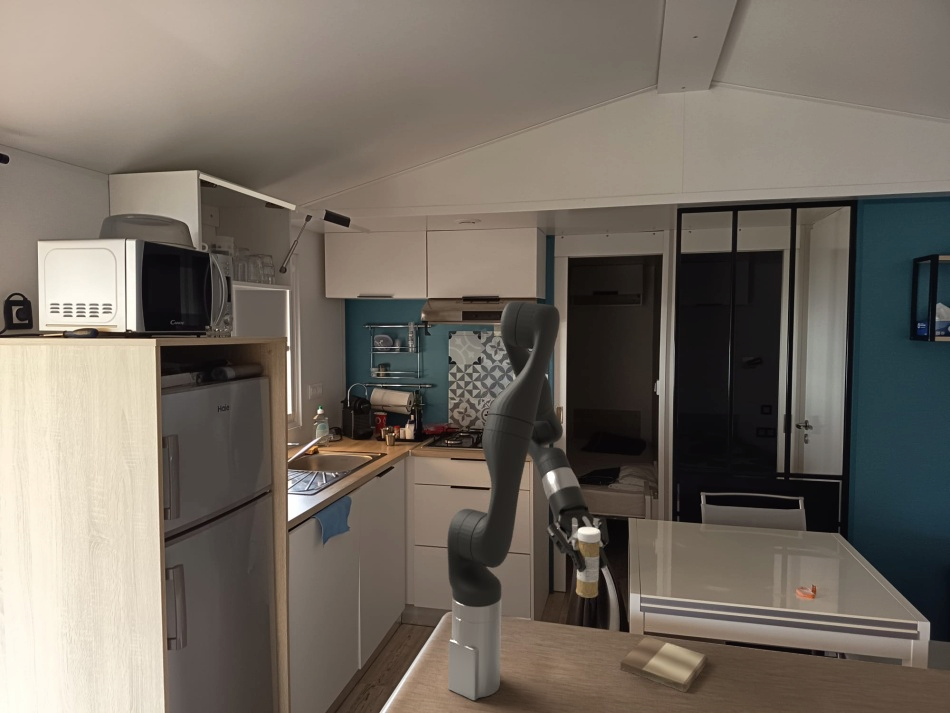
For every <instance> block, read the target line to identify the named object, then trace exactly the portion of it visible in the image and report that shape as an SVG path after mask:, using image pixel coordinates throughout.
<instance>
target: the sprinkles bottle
mask: <svg viewBox="0 0 950 713" xmlns="http://www.w3.org/2000/svg"><path fill="white" fill-rule="evenodd" d="M599 542H600V530H598V529H596V528H595V527H594V526H592V527H582V528H579V529H578V551H580V552H581V554H582V557H583V559H584V562H585V565H586V569H585V570H584V571H583V572H579V571H578V570H577V569H576V589H575V592H576V594H577V595H578V596H579V597H582V598H585V599H587V598H588V599H589V598H591V599H592V598H596V597H597V596H598V595H599V590H598V588H599V587H598V586H599V572H600V571H599V570H600V568H599Z"/></svg>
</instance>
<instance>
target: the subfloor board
mask: <svg viewBox="0 0 950 713" xmlns="http://www.w3.org/2000/svg"><path fill="white" fill-rule="evenodd" d="M707 664H708V655H707V654H703V653H700V652H697V651H694V650H692V649H689V648H685V647H681V646H678V645H676V644H673V643H669V642H666V641H663V640H660V639H658V638H657V639H656V638H654V637H651V636H647V635H646V636H645V637H644V638H643V639H641V641H639V643H638V644H637V645H636V646H635V647H634V648H633V649H631V651H629V653H628V654H627V655H625V657H624V658H623V659H622V660H621V661H620V670H622V669H624V670H623V671H625V670H626V671H625V672H627V671H628V672H627V673H631V674H633V673H634V674H633V675H635V676H638V675H639V676H638V677H641V676H642V677H641V678H644V679H647V678H648V679H647V680H649V679H650V681H652V682H655V683H658V684H660V685H664V686H667V687H669V688H671V687H672V689H674V688H675V689H674V690H678V691H680V692H682V693H686V692H687V691H689V689H690V687H691V685H692V684H693V683H694V681H695V680H696V679H697V678H698V676H699V674H700V673H701V672H702V671H703V670H704V668H706V666H707Z"/></svg>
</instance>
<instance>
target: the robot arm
mask: <svg viewBox="0 0 950 713" xmlns="http://www.w3.org/2000/svg"><path fill="white" fill-rule="evenodd" d="M560 319H561V317H560V312H559V309H558V308H557V307H556V306H555V305H551V304H544V303H536V302H530V301H529V302H528V301H522V300H521V301H520V300H518V301H517V300H512V301H509V302H508V303H507V304H506V305H505V306H504V309H503V310H502V313H501V318H500V324H499V325H500V336H501V340H502V343H503V346H504V349H505V352H506V355H507V357H508V361H509V363H510V367H511V368H512V372H513V374H514V377H515V378H514V379H513V380H512V382H510V383H509V384H508V385H507V386H506V387H505V388H504V389H503V390H502V391H501V392H500V393H499V395H497V396H496V397H495V398H494V400H493V401H492V403H491V404H490V406H489V408H488V413H487V416H486V420H485V424H484V428H483V430H482V431H483V432H482V438H481V445H482V451H483V455H484V458H485V461H486V466H487V469H488V474H489V478H490V485H491V486H490V488H491V491H490V499H489V500H490V501H489V506H488V509H487V510H488V511H487V512H484V511H480V510H475V509H472V508H464V509H460V510H459V511H458V512H456V514H455V515H454V516H453V517H452V519H451V521H450V524H449V528H448V532H447V544H446V546H447V547H446V548H447V568H448V581H449V585H450V587H451V590H452V592H451V594H452V597H451V598H452V600H451V602H452V603H451V604H452V608H451V610H452V612H451V638H450V639H449V641H448V678H447V679H448V681H447V682H448V690H450V691H451V692H454V693H456V694H458V695H461V696H462V697H465V698H467V699H469V700H472V701H476V700H477V699H479V698H481V699H482V698H485V697H490V696H491V695H494V694H495V693H496V692H497V691H498V690H499V688H500V687H501V648H502V647H501V644H502V643H501V636H502V634H501V633H502V632H501V631H502V629H501V628H502V583H501V581H500V579H499V578H498V577H497V576H496V575H495V574H494V573H493V572H492V571H491V570H490V569H489V568H493V569H494V568H498V567H500V566H501V564H503V563H504V561H505V560H506V559H507V557H508V554H509V551H510V549H511V546H512V541H513V537H514V536H513V535H514V529H515V522H516V514H517V507H518V500H519V496H520V495H519V494H520V489H521V488H520V487H521V485H522V484H521V483H522V478H523V474H524V469H525V465H526V464H525V463H526V460H527V455H529V457H530V458H531V459H532V461H533V462H534V464H535V466H536V468H537V471H538V474H539V476H540V479H541V482H542V486H543V490H544V493H545V496H546V498H547V501H548V504H549V507H550V509H551V512H552V515H553V516H554V519H555V521H556V522H555V523H552V522H551V523H550V524H549V526H548V527H547V528H546V531H545V532H546V533H547V536H549V538H550V539H551V541H552V542H553V544H554V546H555V547H556V548H557V550H558V551H559V553H561V554H568V555H569V556H570V557H571V559H572V563H573V566H574V568H575V569H576V571H577V570H578V571H579V572H583V571H584V570H585V569H586V565H585V562H584V559H583V557H582V554H581V552H580V551H578V529H579V528H582V527H594V528H596V529H598V530H600V542H599V570H603V569H605V568H606V567H607V565H608V562H609V560H608V558H607V555H606V552H605V550H604V548H605V546H607V545H608V544H609V542H610V540H609V538H610V537H609V532H608V526H607V519H606V517H604V516H602V517H600V518H597V517H594V516H593V515H592V514H591V513H590V511H589V506H588V503H587V500H586V497H585V496H584V492H583V491H582V488H581V486H580V484H579V480H578V478H577V477H576V474H575V473H574V471H573V470H572V466H571V465H570V461H569V459H568V457H567V455H566V453H565V451H564V450H563V449H562V448H560V447H552V446H551V447H544V446H548V445H551V444H554V443H557V442H558V441H560V440H561V438H562V436H563V434H564V429H563V425H562V422H561V419H560V418H559V417H558V415H557V414H556V412H555V409H554V406H553V398H552V397H553V396H552V389H551V388H552V387H551V384H550V380H549V379H548V377H547V375H546V373H547V372H548V371H547V370H548V368H549V365H550V361H551V358H552V355H553V352H554V348H555V345H556V342H557V338H558V335H559V334H558V333H559V330H560V329H559V328H560ZM529 349H530V350H531V353H530V352H529V351H528V350H529ZM562 533H563V534H564V535H565V536H564V535H563V534H562Z"/></svg>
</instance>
